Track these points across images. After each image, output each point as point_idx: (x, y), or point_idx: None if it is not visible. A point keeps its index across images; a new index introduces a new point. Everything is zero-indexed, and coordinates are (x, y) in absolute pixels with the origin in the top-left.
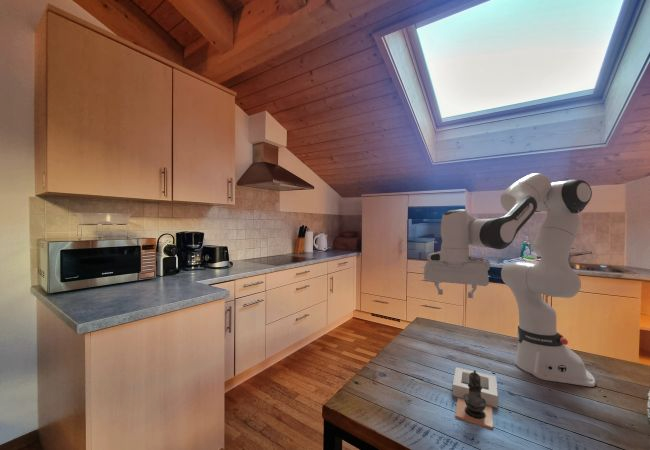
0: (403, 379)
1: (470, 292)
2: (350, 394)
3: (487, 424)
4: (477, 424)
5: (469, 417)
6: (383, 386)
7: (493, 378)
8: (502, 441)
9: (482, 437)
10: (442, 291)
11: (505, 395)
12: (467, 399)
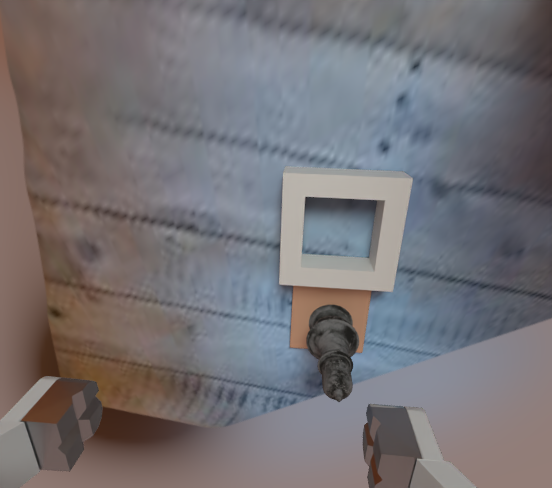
0: (148, 250)
1: (406, 485)
2: (73, 356)
3: None
4: None
5: None
6: (118, 302)
7: (401, 197)
8: (372, 371)
9: None
10: (79, 432)
11: (420, 208)
12: (315, 352)
